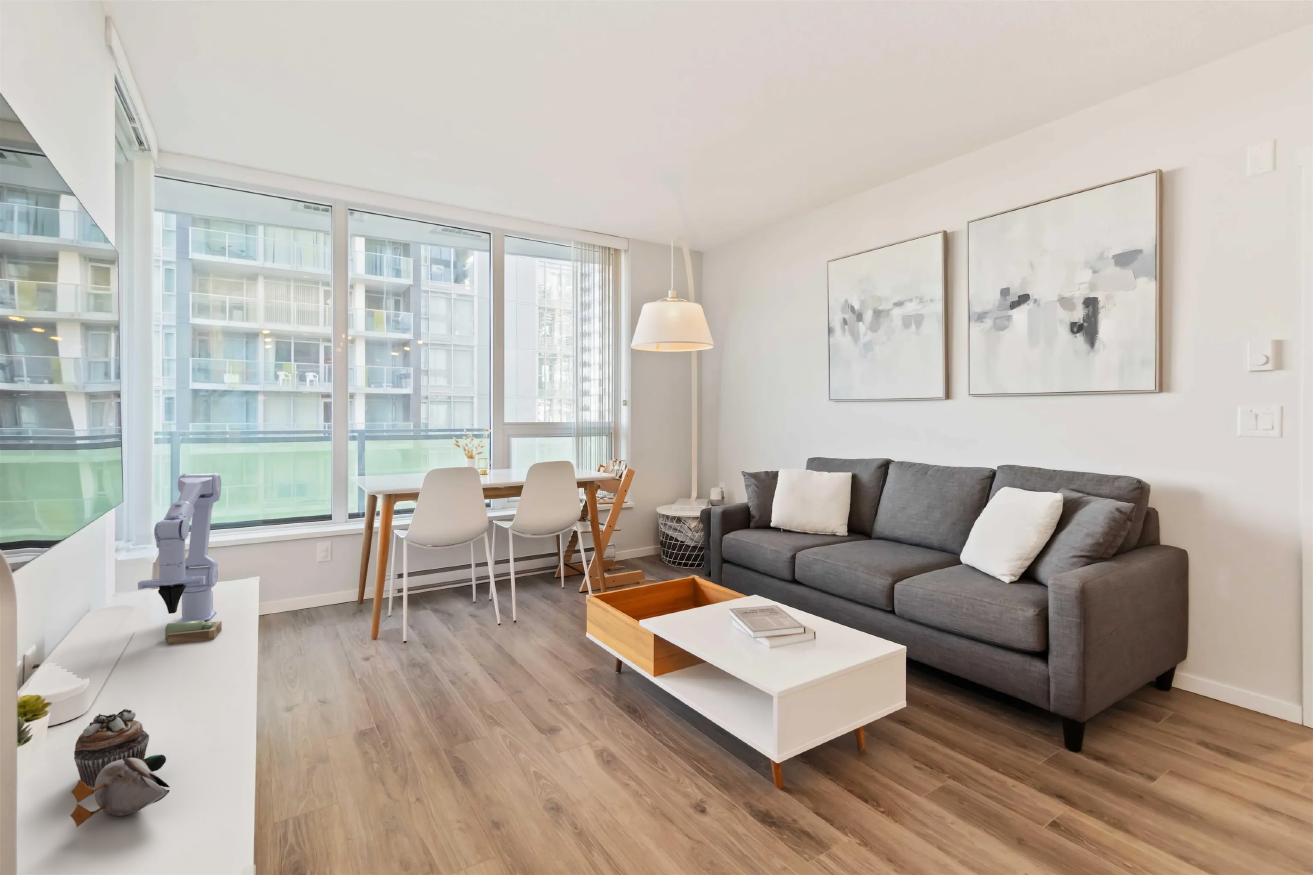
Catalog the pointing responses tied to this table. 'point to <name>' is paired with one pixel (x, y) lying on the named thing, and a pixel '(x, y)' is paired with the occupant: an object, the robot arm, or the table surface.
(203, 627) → the bottle
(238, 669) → the table surface
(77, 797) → the decorative duck model
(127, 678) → the table surface
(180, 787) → the table surface
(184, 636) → the u rest
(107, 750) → the cupcake
